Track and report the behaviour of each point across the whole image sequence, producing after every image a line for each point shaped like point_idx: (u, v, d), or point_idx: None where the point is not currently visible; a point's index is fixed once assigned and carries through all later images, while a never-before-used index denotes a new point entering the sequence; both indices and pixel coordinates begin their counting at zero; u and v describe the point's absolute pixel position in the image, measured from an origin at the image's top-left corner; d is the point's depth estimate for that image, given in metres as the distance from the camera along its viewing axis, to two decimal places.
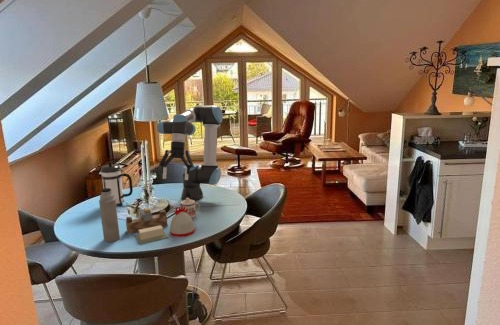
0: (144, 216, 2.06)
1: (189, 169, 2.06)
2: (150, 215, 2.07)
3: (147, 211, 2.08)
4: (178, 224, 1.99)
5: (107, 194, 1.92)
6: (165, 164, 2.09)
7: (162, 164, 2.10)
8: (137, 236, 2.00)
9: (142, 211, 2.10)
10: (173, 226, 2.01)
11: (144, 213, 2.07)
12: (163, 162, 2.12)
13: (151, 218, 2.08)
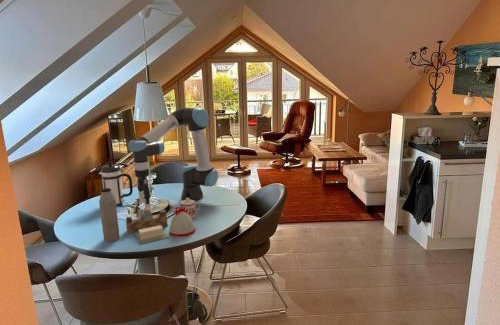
0: (144, 216, 2.06)
1: (147, 199, 2.00)
2: (150, 215, 2.07)
3: (147, 211, 2.08)
4: (178, 224, 1.99)
5: (107, 194, 1.92)
6: (139, 189, 2.12)
7: None
8: (137, 236, 2.00)
9: (142, 211, 2.10)
10: (173, 226, 2.01)
11: (144, 213, 2.07)
12: None
13: (151, 218, 2.08)
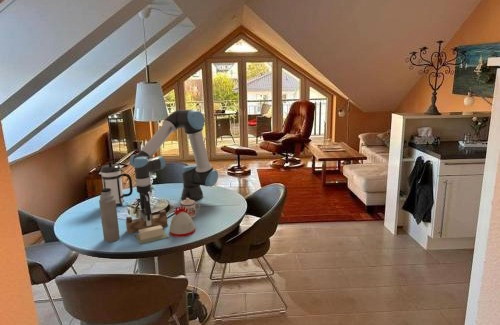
0: (144, 216, 2.06)
1: (148, 216, 2.05)
2: None
3: None
4: (178, 224, 1.99)
5: (107, 194, 1.92)
6: (141, 206, 2.13)
7: None
8: (137, 236, 2.00)
9: (142, 211, 2.10)
10: (173, 226, 2.01)
11: (144, 213, 2.07)
12: None
13: (151, 218, 2.08)
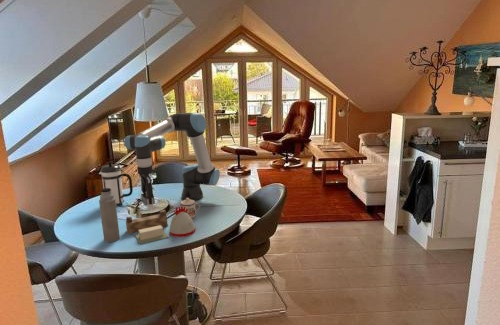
0: (145, 199, 1.91)
1: (150, 199, 1.90)
2: None
3: None
4: (178, 224, 1.99)
5: (107, 194, 1.92)
6: (143, 190, 1.98)
7: None
8: (137, 236, 2.00)
9: (143, 194, 1.96)
10: (173, 226, 2.01)
11: (145, 196, 1.92)
12: None
13: (153, 202, 1.93)
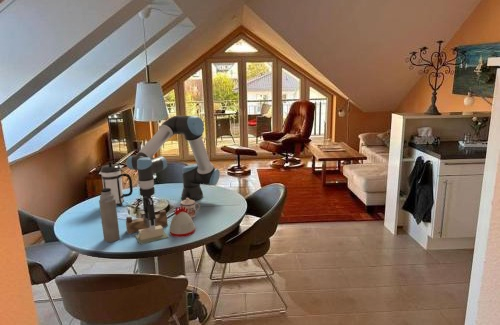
0: (147, 221, 1.93)
1: (152, 221, 1.93)
2: None
3: None
4: (178, 224, 1.99)
5: (107, 194, 1.92)
6: (145, 210, 2.01)
7: None
8: (137, 236, 2.00)
9: (145, 215, 1.98)
10: (173, 226, 2.01)
11: (147, 217, 1.95)
12: None
13: (155, 223, 1.96)
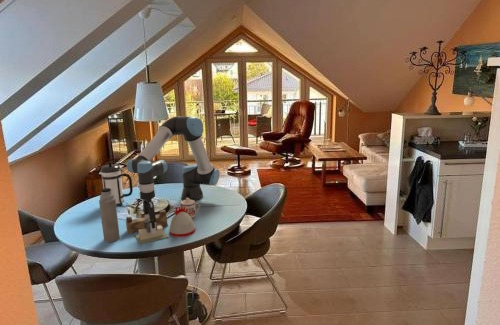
0: (148, 227, 1.94)
1: (153, 223, 1.92)
2: None
3: None
4: (178, 224, 1.99)
5: (107, 194, 1.92)
6: (144, 212, 2.02)
7: None
8: (137, 236, 2.00)
9: (146, 221, 1.99)
10: (173, 226, 2.01)
11: (148, 224, 1.96)
12: None
13: (156, 229, 1.97)
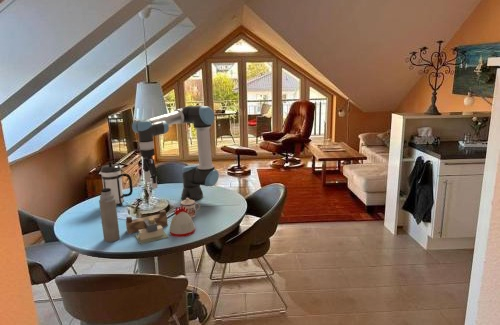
0: (148, 227, 1.94)
1: (154, 178, 2.01)
2: (154, 226, 1.96)
3: (151, 221, 1.97)
4: (178, 224, 1.99)
5: (107, 194, 1.92)
6: (145, 169, 2.12)
7: None
8: (137, 236, 2.00)
9: (146, 221, 1.99)
10: (173, 226, 2.01)
11: (148, 224, 1.96)
12: None
13: (156, 229, 1.97)
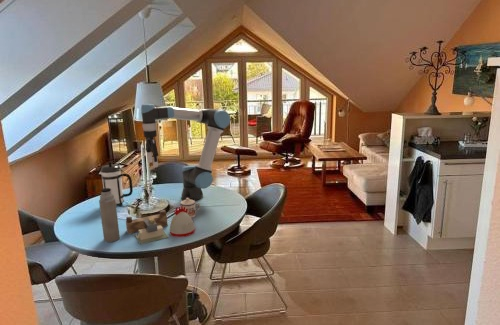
0: (148, 227, 1.94)
1: (155, 157, 2.18)
2: (154, 226, 1.96)
3: (151, 221, 1.97)
4: (178, 224, 1.99)
5: (107, 194, 1.92)
6: (147, 150, 2.30)
7: None
8: (137, 236, 2.00)
9: (146, 221, 1.99)
10: (173, 226, 2.01)
11: (148, 224, 1.96)
12: None
13: (156, 229, 1.97)
